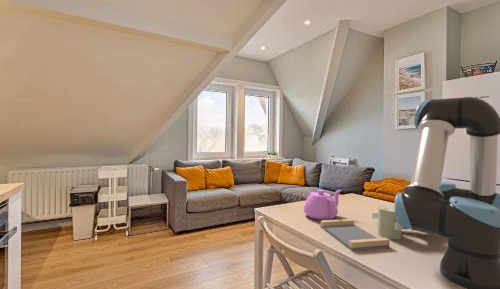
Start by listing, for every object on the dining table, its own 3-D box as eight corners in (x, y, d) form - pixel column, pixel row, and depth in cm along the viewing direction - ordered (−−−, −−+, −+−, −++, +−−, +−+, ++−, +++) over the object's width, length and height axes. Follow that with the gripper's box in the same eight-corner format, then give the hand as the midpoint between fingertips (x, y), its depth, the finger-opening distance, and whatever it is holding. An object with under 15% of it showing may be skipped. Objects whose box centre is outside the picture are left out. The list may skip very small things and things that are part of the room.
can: (372, 232, 110) (373, 205, 109) (387, 230, 113) (388, 203, 112) (390, 240, 101) (391, 211, 100) (406, 237, 104) (407, 209, 104)
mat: (389, 247, 95) (389, 239, 94) (351, 250, 91) (351, 242, 91) (351, 225, 118) (351, 218, 118) (320, 227, 115) (320, 220, 115)
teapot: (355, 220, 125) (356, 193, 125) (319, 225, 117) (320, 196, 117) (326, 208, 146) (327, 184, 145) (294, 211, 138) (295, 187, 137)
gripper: (452, 237, 98) (406, 241, 94) (402, 217, 123) (364, 219, 118) (453, 219, 98) (407, 221, 94) (403, 202, 122) (364, 203, 118)
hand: (383, 220), depth 106 cm, fingers open, 13 cm apart
